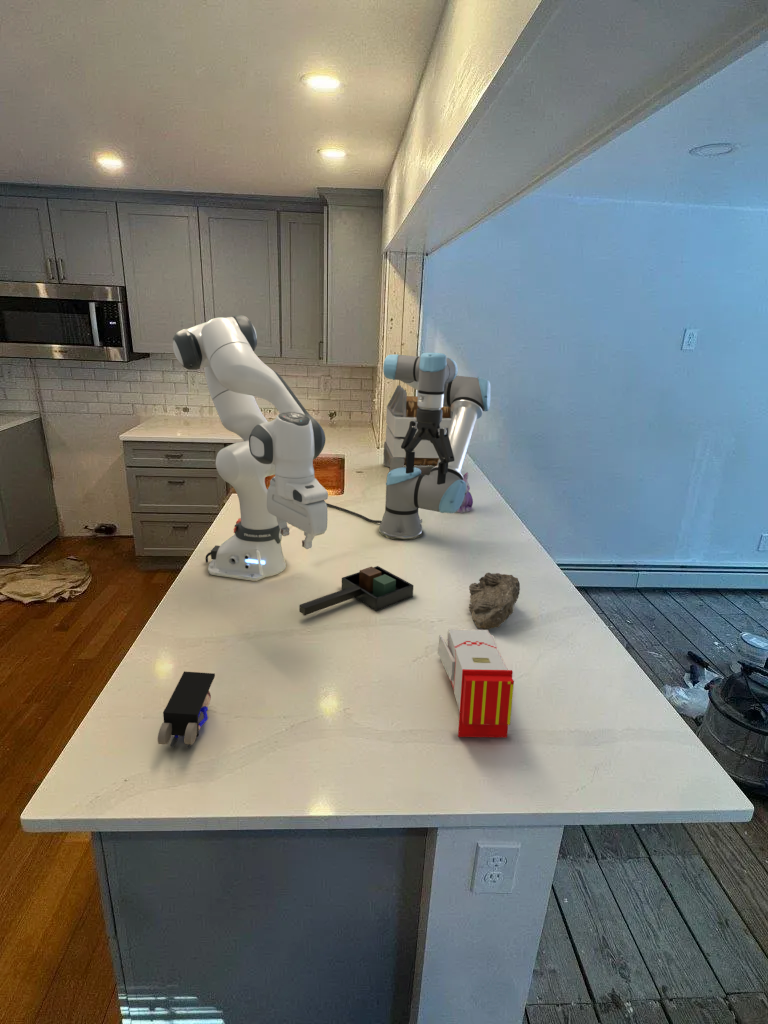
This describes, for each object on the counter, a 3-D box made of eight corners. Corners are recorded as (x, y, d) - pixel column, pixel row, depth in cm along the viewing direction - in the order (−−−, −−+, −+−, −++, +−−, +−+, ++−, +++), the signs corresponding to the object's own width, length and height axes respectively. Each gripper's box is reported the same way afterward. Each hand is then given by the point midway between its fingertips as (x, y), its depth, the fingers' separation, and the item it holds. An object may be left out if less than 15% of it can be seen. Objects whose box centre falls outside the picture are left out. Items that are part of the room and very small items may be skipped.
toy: (488, 613, 130) (523, 677, 101) (484, 667, 133) (517, 744, 104) (435, 612, 130) (455, 676, 101) (432, 666, 133) (451, 743, 103)
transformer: (382, 463, 289) (386, 382, 275) (445, 464, 293) (451, 384, 279) (390, 482, 257) (394, 392, 243) (460, 483, 261) (468, 394, 247)
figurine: (459, 514, 221) (463, 477, 216) (445, 506, 229) (448, 470, 224) (479, 511, 225) (483, 475, 220) (464, 503, 234) (467, 468, 228)
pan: (286, 608, 148) (285, 594, 146) (377, 576, 167) (377, 564, 166) (319, 633, 137) (319, 619, 136) (412, 596, 157) (413, 583, 155)
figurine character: (198, 762, 99) (219, 698, 112) (193, 731, 96) (215, 669, 109) (159, 761, 99) (184, 698, 112) (153, 730, 95) (180, 668, 109)
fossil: (461, 576, 160) (507, 550, 155) (480, 600, 163) (525, 575, 158) (463, 624, 140) (516, 596, 135) (485, 650, 143) (537, 624, 138)
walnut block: (359, 586, 160) (359, 570, 158) (370, 582, 163) (371, 566, 161) (369, 592, 157) (369, 576, 155) (380, 587, 160) (381, 571, 158)
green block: (372, 594, 155) (373, 578, 154) (384, 590, 158) (385, 574, 157) (383, 601, 152) (384, 584, 151) (395, 596, 155) (396, 579, 154)
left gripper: (259, 476, 134) (261, 530, 139) (308, 499, 120) (308, 558, 125) (282, 472, 138) (283, 525, 143) (332, 494, 124) (332, 552, 129)
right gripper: (391, 402, 171) (388, 470, 178) (452, 416, 154) (446, 490, 161) (410, 400, 176) (406, 466, 183) (470, 413, 158) (464, 486, 166)
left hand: (295, 541), depth 134 cm, fingers open, 8 cm apart
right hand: (424, 478), depth 172 cm, fingers open, 13 cm apart
